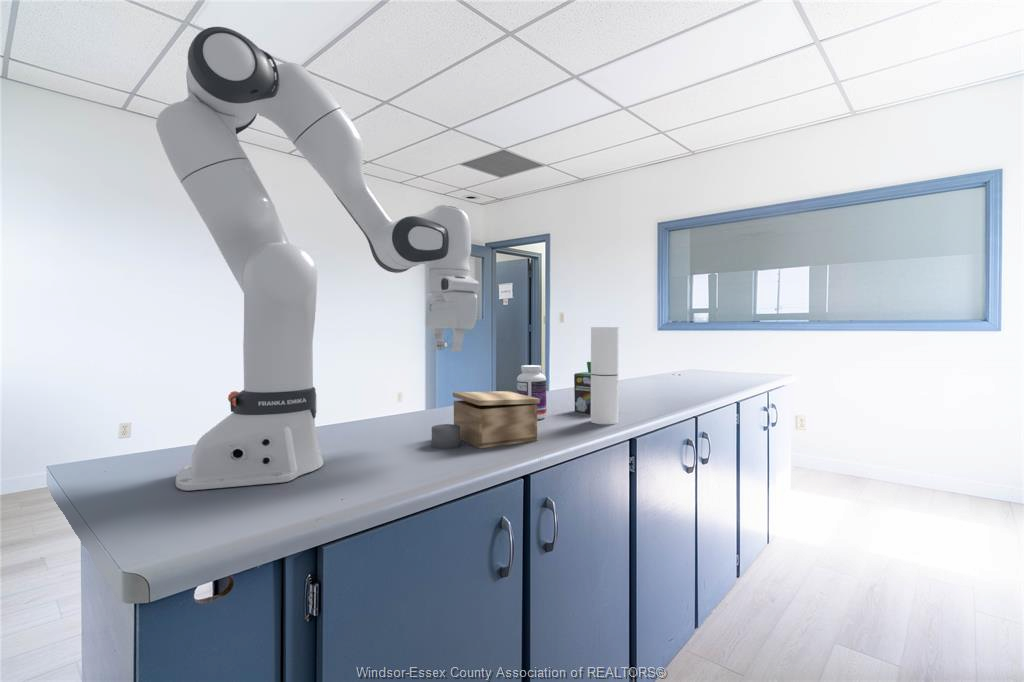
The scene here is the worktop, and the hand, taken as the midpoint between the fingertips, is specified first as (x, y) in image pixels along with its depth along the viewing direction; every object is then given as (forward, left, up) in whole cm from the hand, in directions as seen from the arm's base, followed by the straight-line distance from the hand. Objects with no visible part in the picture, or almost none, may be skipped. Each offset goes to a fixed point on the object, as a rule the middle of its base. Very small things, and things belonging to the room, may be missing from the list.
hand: (447, 350), depth 104 cm
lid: (+12, +1, -11) cm, 16 cm away
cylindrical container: (+45, +4, -20) cm, 50 cm away
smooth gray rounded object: (-1, 0, -20) cm, 20 cm away
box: (+11, +1, -20) cm, 23 cm away
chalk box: (+54, +18, -20) cm, 60 cm away
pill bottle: (+31, +18, -20) cm, 42 cm away
